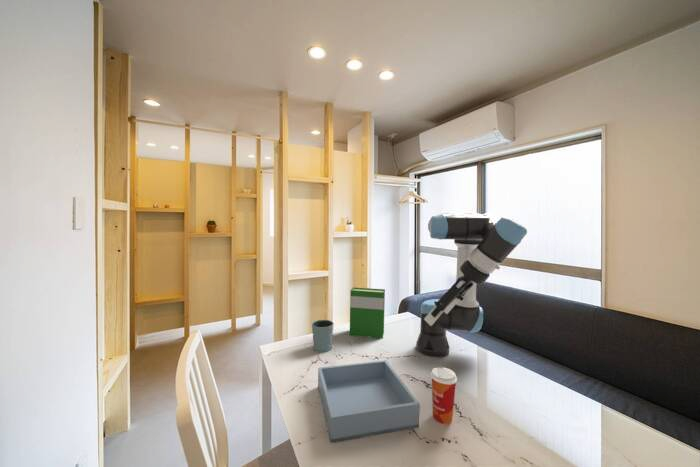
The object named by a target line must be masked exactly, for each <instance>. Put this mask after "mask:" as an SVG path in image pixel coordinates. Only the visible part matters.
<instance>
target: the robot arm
mask: <svg viewBox="0 0 700 467" xmlns="http://www.w3.org/2000/svg"><path fill="white" fill-rule="evenodd" d="M427 230H428V231H429V236H430V238H431V239H435V240H442V241H443V240H454V241H453V243H454V245H455V246H456V248H457V250H456V251H457V252H456V253H457V256H456V278H455V282H454V283H453V284H452V285H451V287H450V288H448V289H447V291H446V292H445V293H444V294H443V295H442V297H441V298H433V299H432V298H431V299H428V300H424V301H423V302H422V303H421V306H420V332H419V334H418V337H417V340H416V345H415V346H416V350H417V351H418V352H420V353H421V354H423V355H426V356H429V357H435V358H442V357H446V356H448V355H449V354H450V344H449V342H448V337H447V330H448V331H454V332H455V331H457V332H464V333H465V332H466V333H479V332H480V330H481V329H482V327H483V326H482V325H483V323H484V322H483V321H484V310H483V308H482V306H480V303H479V301H478V300H477V285H483V284H484V283H485V282H486V281H487V280H488V278H489V277H490V276H491V275H490V274H492V273H494V271H495V270H500V268H501V266H500V265H501V263H503V262H504V260H506V258H507V257H509V255H510V254H511V253H512V252H513V251H514V250H515V249H516V247H517V246H518V245H520V243H522V240H523V239H524V238H525V236H526V235H527V234H528V230H527V228H526V227H525V226H523V225H522V224H521V223H519V222H517V221H516V220H514V219H512V218H510V217H508V216H500V215H497V214H495V213H492V212H487V213H483V214H481V213H473V212H472V213H448V212H447V213H441V214H438V215H433V216H431V217H430V219H429V221H428V223H427Z"/></svg>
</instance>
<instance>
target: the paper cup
mask: <svg viewBox="0 0 700 467" xmlns="http://www.w3.org/2000/svg"><path fill="white" fill-rule="evenodd" d="M430 377H431V404H432V418H433V419H434V421H436V422H438V423H439V424H443V425H449V424H451V423H452V421H453V414H454V404H455V395H456V384H457V381H458V377H457V376H456V372H454V370H452V369H450V368H448V367H439V366H438V367H434V368H432V371H431V372H430Z"/></svg>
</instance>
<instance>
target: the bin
mask: <svg viewBox="0 0 700 467" xmlns="http://www.w3.org/2000/svg"><path fill="white" fill-rule="evenodd" d="M317 373H318V374H317V388H318V392H319V396H320V401H321V405H322V410H323V414H324V417H325V423H326V427H327V432H328V437H329V441H330V444H334V443H335V444H336V443H341V442H345V441H350V440H356V439H357V440H358V439H363V438H367V437H373V436H378V435H384V434H389V433H395V432H401V431H406V430H412V429H417V428H420V412H421V411H420V410H421V407H420V406H421V404H420V402H419V401H418V399H417V398H416V397H415V396H414V395H413V393H412V392H411V391H410V389H409V388H408V387H407V385H406V384H405V382H403V380H402V378H401V377H400V376H399V375H398V373H397V372H396V371H395V369H393V367H392V366H391V365H390V363H389V362H388V360H387V359H384V360H377V361H366V362H365V361H364V362H359V363H358V362H357V363H350V364H349V363H348V364H339V365H331V366H329V365H328V366H321V367H320V366H319V367H318V369H317Z"/></svg>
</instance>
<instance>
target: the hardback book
mask: <svg viewBox="0 0 700 467" xmlns="http://www.w3.org/2000/svg"><path fill="white" fill-rule="evenodd" d="M385 292H386V289H384V288H370V287H368V288H366V287H352V288H351V289H350V298H349V299H350V300H349V303H350V304H349V336H354V337H363V338H372V339H373V338H374V339H375V338H376V339H384V333H385V305H386V304H385V300H386V299H385V298H386V297H385V296H386V295H385Z"/></svg>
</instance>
